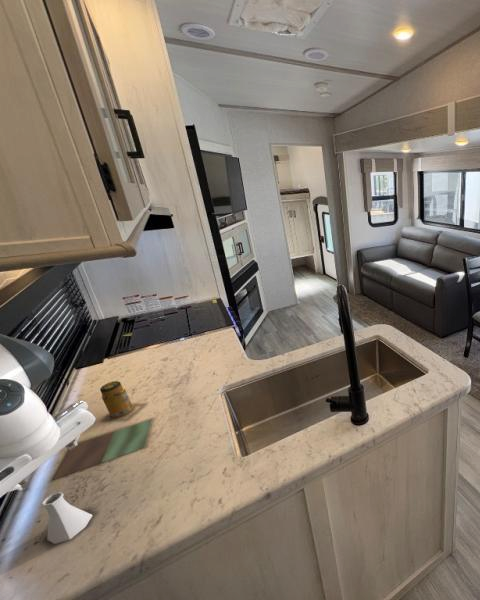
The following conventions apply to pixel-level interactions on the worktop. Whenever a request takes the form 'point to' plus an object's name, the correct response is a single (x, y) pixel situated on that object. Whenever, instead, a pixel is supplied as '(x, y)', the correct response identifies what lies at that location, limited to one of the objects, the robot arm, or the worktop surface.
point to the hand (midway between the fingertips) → (48, 465)
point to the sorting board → (104, 448)
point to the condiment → (116, 399)
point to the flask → (63, 518)
